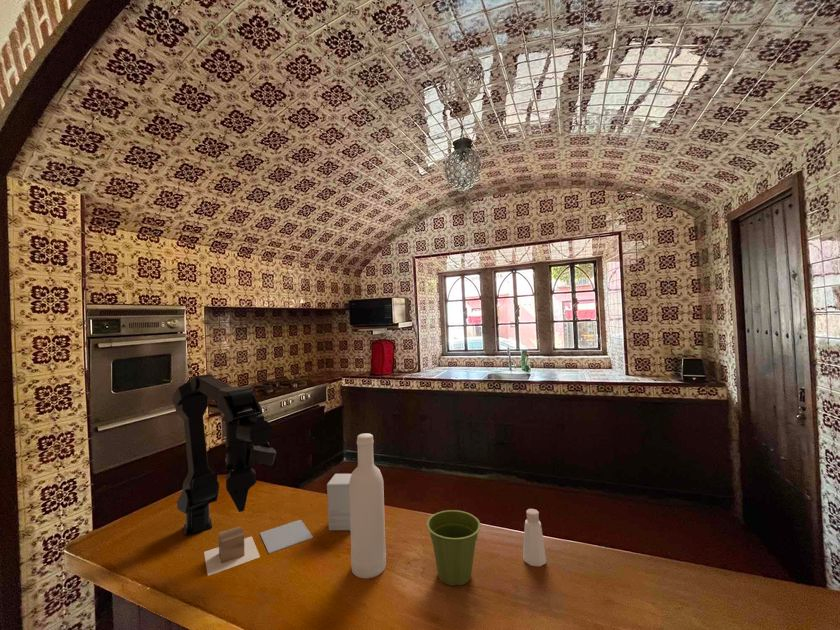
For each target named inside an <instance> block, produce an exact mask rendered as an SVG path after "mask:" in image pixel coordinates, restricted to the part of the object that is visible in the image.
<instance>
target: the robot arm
mask: <svg viewBox="0 0 840 630" xmlns="http://www.w3.org/2000/svg"><path fill="white" fill-rule="evenodd" d="M209 399H212V400H214V401H215V402H217V409H218V410H219V411H221V413H222V415H223V417H222V418H221V421H222V422H224V426H225V428H224V429H225V431H224V432H225V456H226V457H225V459H224V461H225V462H224V463H225V464H224V467H225V473H226V476H225V489H226V491H227V493H228V495H229V496H230V497H231V500H232V501H233V503H234V505H235V506H236V509H237V511H238V512H239V513H241V512H245V509H246V504H247V498H248V494H249V490H250V489H251V488H252V487H254V486H255V485H256V484H257V474H256V469H254V468H252V467H253V466H255V463H256V464H262V465H267V466H271V467H272V466H273V464H274V462H275V458H276V455H277V451H276V449H275V448H274V447H270V443H269V441H270V439H271V438H272V436H273V427H272V425H271V423H270V422H269V421H268V420H265V415H264V414H263V411H262V406H261V404H260V402H259V400H258V399H257V396H256V395H255V393H254V391H253V390H252V389H251V388H249V387H246V386H232V385H229V384H228V383H226V382H224V381H222V380H220V379H218V378H216V377H215V376H214V375H213V374H210V373H208V374H200V375H194V376H192V377H190V380H188V381H187V382H185V383H184V384H182V385H180V386H178V387H177V389H176V390H175V391H174V393H173V395H172V403H173V405H174V408H175V412H176V413H177V414H178V416H179V417H181V419H182V420H183V428H184V437H185V447H186V448H185V449H186V458H187V468H188V471H187V475H186V476H185V478H184V480H183V482H182V492H181V494H180V495H179V497H178V499H177V501H176V506H177V507H176V508H177V510H178V511H180V512H181V513H183V514H185V523H184V524H183V530H184V533H183V534H184V536H186V537H187V536H191V535H194V534H196V533H197V534H198V533H200V532H203V531H207V530H210V529H212V528H213V522H212V518H211V517H210V512H211V511H210V504H211V503H215V502H218V497H219V492H220V483H219V481H218V474H217V473H216V472H215V471H213V470H212V469H211V468H210V467H209V461H208V451H207V450H208V449H207V442H206V433H205V432H206V430H205V424H204V423H205V421H204V415H205V412H206V411H207V409H208V407H209Z"/></svg>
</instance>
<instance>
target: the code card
mask: <svg viewBox="0 0 840 630" xmlns="http://www.w3.org/2000/svg"><path fill="white" fill-rule="evenodd" d="M203 554H204V561H205V567H206V574H207V577H209V576H212V575H215V574H218V573H221V572H223V571H227V570H228V569H231V568H233V567H237V566H239V565H242V564H245V563H248V562H250V561H252V560H256V559H259V558H260V557H261V555H260V553H259V550H258V547H257V546H256V543H255V541H254V539H253V536H248V537H244V554H245V555H244V556H242V557H239V558H236V559H233V560H230V561H227V562H224V563H222V564H221V560H220V555H219V546H218V547H214V548H212V549H209V550H206V551H203Z"/></svg>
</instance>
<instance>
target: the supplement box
mask: <svg viewBox="0 0 840 630" xmlns="http://www.w3.org/2000/svg"><path fill="white" fill-rule="evenodd" d="M351 475H352V473H334V475H332V477H331V479H330V480H329V481H328V482H327V484H326V491H327V494H326V495H327V496H326V497H327V519H328V521H327V522H328V523H327V524H328V531H351V526H350V489H349V482H350V478H351Z"/></svg>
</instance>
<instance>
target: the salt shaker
mask: <svg viewBox="0 0 840 630" xmlns="http://www.w3.org/2000/svg"><path fill="white" fill-rule="evenodd" d="M525 512H526V519H525V521H524V530H523V531H524V533H523V547H522V548H523V549H522V550H523V551H522V557H523V562H525V563H527V564H528V565H529V566H530V567H531V566H532V567H542V566H543V565H545V564H547V556H546V550H545V542H544V537H543V536H544V535H543V529H542V523H541V521H540V518H539V517H540V516H539V514H540V512H539V511H538V510H537V509H534V508H528V509H527V510H526V511H525Z"/></svg>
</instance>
